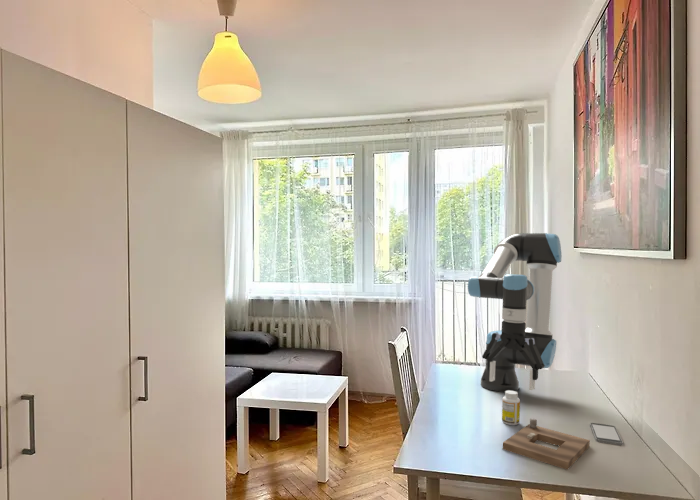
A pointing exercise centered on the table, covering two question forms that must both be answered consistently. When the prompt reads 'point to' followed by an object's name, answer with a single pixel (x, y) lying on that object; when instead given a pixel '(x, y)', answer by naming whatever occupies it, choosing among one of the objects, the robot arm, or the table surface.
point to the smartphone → (606, 434)
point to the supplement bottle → (511, 408)
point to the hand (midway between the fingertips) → (511, 385)
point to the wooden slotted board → (558, 457)
